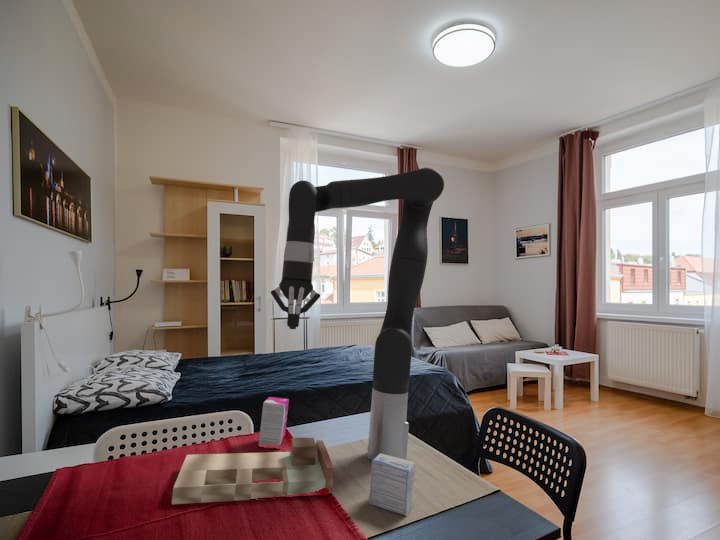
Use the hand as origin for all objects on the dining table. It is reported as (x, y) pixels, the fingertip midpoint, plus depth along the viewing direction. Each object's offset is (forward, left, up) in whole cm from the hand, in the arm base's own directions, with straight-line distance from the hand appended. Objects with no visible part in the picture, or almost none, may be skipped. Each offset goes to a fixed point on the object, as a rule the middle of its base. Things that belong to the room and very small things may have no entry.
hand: (292, 328), depth 97 cm
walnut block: (-4, +11, -28) cm, 30 cm away
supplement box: (+2, -6, -31) cm, 32 cm away
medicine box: (-20, +25, -31) cm, 45 cm away
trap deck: (+6, +13, -31) cm, 34 cm away
